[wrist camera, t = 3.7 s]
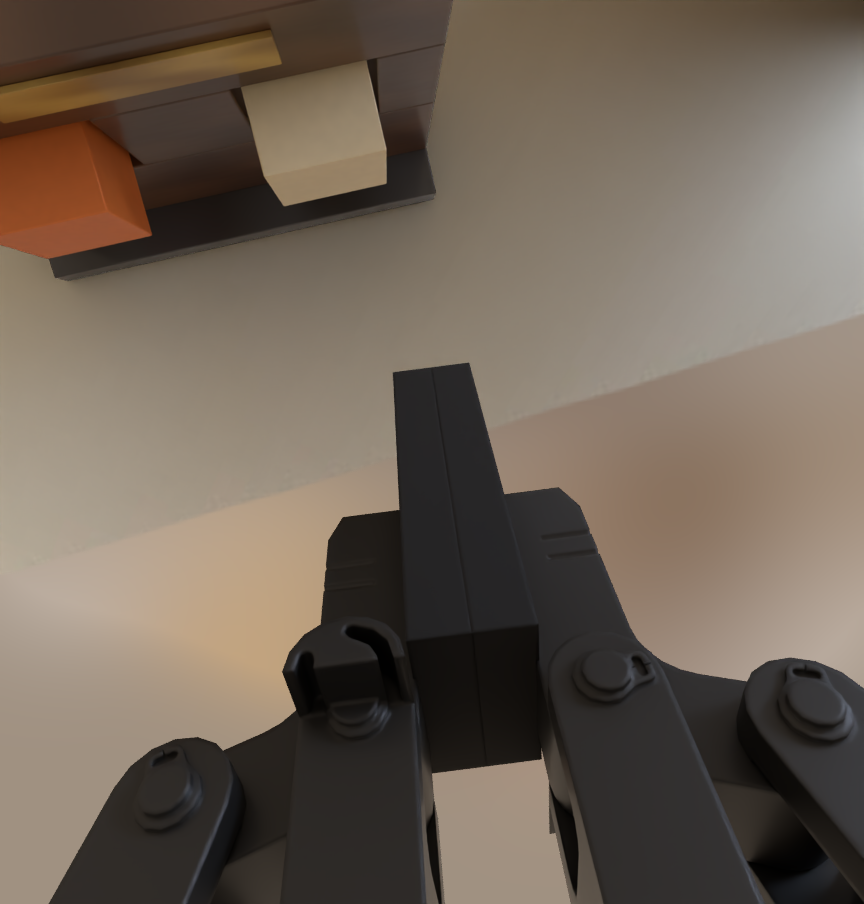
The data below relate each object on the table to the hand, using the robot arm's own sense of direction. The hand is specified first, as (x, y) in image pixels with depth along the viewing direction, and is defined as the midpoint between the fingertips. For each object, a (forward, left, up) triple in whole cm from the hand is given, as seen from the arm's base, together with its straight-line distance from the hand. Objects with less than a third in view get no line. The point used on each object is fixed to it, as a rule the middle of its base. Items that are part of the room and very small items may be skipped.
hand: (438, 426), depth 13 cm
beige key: (+1, -10, -13) cm, 16 cm away
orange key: (+10, -10, -13) cm, 19 cm away
